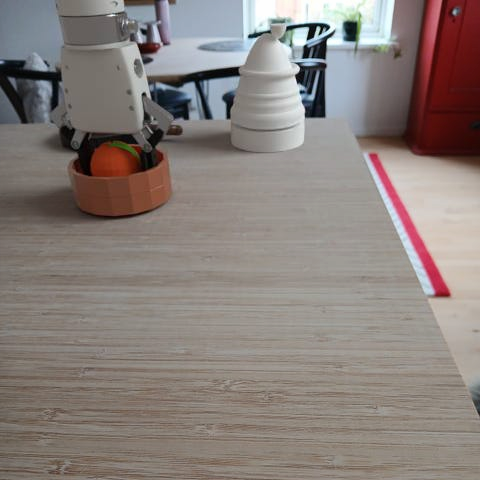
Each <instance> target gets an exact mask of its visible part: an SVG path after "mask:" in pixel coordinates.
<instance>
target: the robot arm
mask: <svg viewBox="0 0 480 480" xmlns="http://www.w3.org/2000/svg"><path fill="white" fill-rule="evenodd" d="M54 2H55V6H56V12H57V15H58V20H59V25H60V30H61V31H60V32H61V35H62V40H63V45H61V46H60V73H61V83H62V90H63V97H64V98H63V99H64V100H62V101H61V102H60V103H59V104H58V105H57V106H56V107H55V108H54V109H52V111H51V112H49V115H48V116H49V118H50V120H51V121H52V122H53V124H54V125H55V126H56V127H57V129H58V130H59V129H60V132H61V133H62V135H64V136H65V137H66V138H67V139H68V140H69V141H70V142H71V145H72V147H73V148H75V149H77V152H76V154H77V156H78V158H79V162H80V167H81V169H82V170H83V174H84V175H87V176H91V177H92V174H91V168H90V163H91V158H92V155H93V153H94V152H95V147H94V144H93V142H89V139H90V136H91V134H92V133H113V134H132V135H133V137H134V138H135V139H136V141H137V142H138V143H139V145H140V146H141V148H142V151H141V152H140V162H141V169H142V172H144V171H147V170H149V169H151V168H153V167H156V166H158V162H157V154H156V147H157V146H158V145H159V143H160V142H161V141H162V140H163V139H164V137H165V136H167V135H166V133H167V131H168V129H169V127H170V125H172V123H173V121H174V115H173V114H172V113H171V112H169V111H168V110H166V109H165V108H163V107H162V106H160V105H159V104H157V102H155V101H154V100H153V99H152V96H151V92H150V86H149V81H148V78H147V73H146V70H145V66H144V65H145V64H144V62H143V58H142V55H141V52H140V50H139V49H140V48H139V47H138V44H137V42H136V41H130V38H131V35H132V34H138V31H139V24H138V21H137V20H136V19H131V18H128V13H127V12H126V8H125V1H124V0H54ZM67 116H68V118H67ZM154 119H155V120H156V121H157V124H158V125H157V128H156V130H155V131H154V132H152V130H151V129H150V127H149V126H148V124H152V123H153V122H154ZM68 120H70V123H69V122H68Z"/></svg>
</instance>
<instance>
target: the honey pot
mask: <svg viewBox="0 0 480 480" xmlns="http://www.w3.org/2000/svg"><path fill="white" fill-rule="evenodd" d="M269 30H270V33H269V32H265V33H262V34H261V35H260V36H259V37H258V38H257V39H256V40H255V42H254V43H253V44H252V46H251V48H250V50H249V52H248V55H247V57H246V60H245V61H244V64H243V65H241V66H240V67H239V68H238V73H239V75H240V76H239V80H238V82H237V83H238V84H237V87H236V88H235V91H234V92H235V95H234V97H233V104H232V106H231V108H230V112H229V114H230V140H231V145H232V146H234V147H235V148H237V149H239V150H242V151H245V152H251V153H278V152H279V153H280V152H286V151H289V150H293V149H296V148H298V147H300V146H301V145H302V144H304V141H305V126H306V125H305V123H306V122H305V118H306V116H305V114H306V108H305V106H304V103H303V101H302V100H303V99H302V98H303V97H302V96H301V93H300V92H301V91H300V90H301V89H300V87H299V85H298V82H297V79H296V75H297V74H299V72H300V70H301V68H300V66H299V65H298V64H297V63H295V62H291V61H290V58H289V56H288V54H287V52H286V51H287V50H285V48H284V46H283V44H282V43H281V41H280V40H279V39H281V38H283V36H284V35H285V33H286V30H287V23H284V22H283V23H282V22H281V23H278V22H276V23H271V24H269Z"/></svg>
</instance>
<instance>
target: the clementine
mask: <svg viewBox="0 0 480 480" xmlns="http://www.w3.org/2000/svg"><path fill="white" fill-rule="evenodd" d="M90 168H91V174H92V176H93V177H117V176H127V175H132V174H136V173H140V172H142V169H141V162H140V157H139V155H138V154H137V152H136V151H135V150H134V149H133V148H132V147H131V146H129V145H128V144H126V143H124V142H121V141H110V142H106V143H103V144H102V145H100V146H99V147H98V148H97V149H96V150H95V152H94V153H93V155H92V158H91V163H90Z"/></svg>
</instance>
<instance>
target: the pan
mask: <svg viewBox="0 0 480 480" xmlns="http://www.w3.org/2000/svg"><path fill="white" fill-rule="evenodd" d="M68 122H69V123H70V120H69V119H68ZM157 125H158V123H150V124H148V126H149V127H150V129H151V130H152V132H154V131H155V130H156V128H157ZM183 132H184V129H183V127H182V125H179V124H171V125H170V127H169V129H168V131H167V133H166V135H165V136H171V137H173V136H175V137H179V136H181V135H182V134H183ZM58 133H59V138H60V142H61V146H62V147H63V148H65V149H68V150H70V151H73V150H74V151H73V152H76V151H77V149H75V148H73V147H72V145H71V142H70V141H69V140H68V139H67V138H66V137H65V136H64V135H62V133H61V132H60V129H59V128H58ZM110 141H121V142H124V143H126V144H134V145H139V143H138V142H137V141H136V139H135V138H134V137H133V135H132V134H113V133H92V134H91V136H90V139H89V142H93V144H94V147H95V149H97V148H98V147H99V146H100V145H102V144H103V143H106V142H110Z"/></svg>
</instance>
